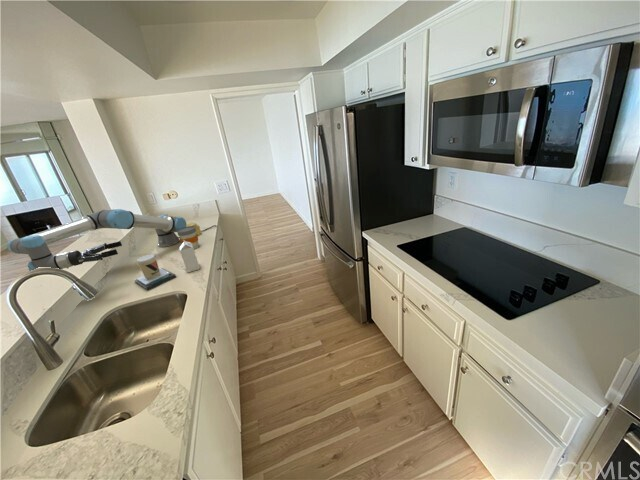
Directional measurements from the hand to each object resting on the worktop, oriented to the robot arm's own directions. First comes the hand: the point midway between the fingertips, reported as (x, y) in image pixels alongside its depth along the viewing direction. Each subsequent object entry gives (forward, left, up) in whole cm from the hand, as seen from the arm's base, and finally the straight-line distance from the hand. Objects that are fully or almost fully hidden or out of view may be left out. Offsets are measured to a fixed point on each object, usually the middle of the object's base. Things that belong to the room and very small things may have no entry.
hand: (119, 247), depth 145 cm
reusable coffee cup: (-46, -20, -24) cm, 56 cm away
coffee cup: (-9, +4, -22) cm, 24 cm away
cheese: (-60, -45, -24) cm, 79 cm away
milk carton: (-28, +15, -24) cm, 40 cm away
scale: (-9, +6, -24) cm, 26 cm away
